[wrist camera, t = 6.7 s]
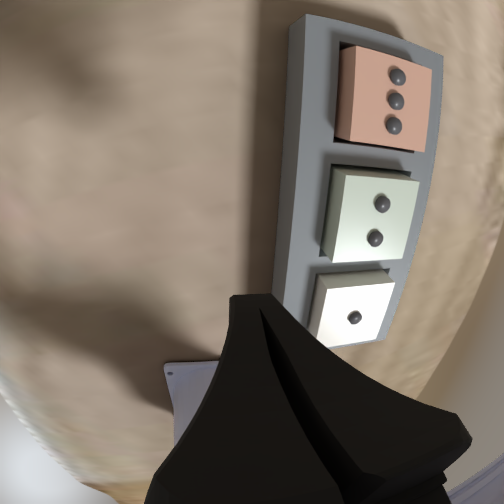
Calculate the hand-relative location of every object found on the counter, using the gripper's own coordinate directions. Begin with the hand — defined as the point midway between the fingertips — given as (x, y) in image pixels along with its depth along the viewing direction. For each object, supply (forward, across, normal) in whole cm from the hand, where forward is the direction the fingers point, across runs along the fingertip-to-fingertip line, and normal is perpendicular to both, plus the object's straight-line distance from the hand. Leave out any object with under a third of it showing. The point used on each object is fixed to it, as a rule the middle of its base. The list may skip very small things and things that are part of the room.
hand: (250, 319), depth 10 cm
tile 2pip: (+10, -8, -1) cm, 12 cm away
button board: (+10, -8, -1) cm, 13 cm away
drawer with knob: (+10, -8, +5) cm, 13 cm away
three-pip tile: (+10, -8, -8) cm, 14 cm away
